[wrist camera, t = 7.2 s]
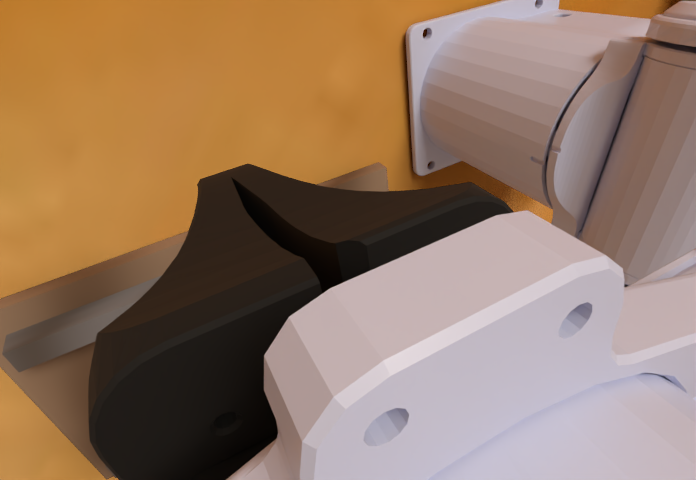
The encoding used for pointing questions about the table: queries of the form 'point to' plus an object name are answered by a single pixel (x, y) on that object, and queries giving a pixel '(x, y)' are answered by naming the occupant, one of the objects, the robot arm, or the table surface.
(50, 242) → the table surface
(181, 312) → the robot arm
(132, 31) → the table surface
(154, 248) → the brown and grey tray
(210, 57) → the table surface
